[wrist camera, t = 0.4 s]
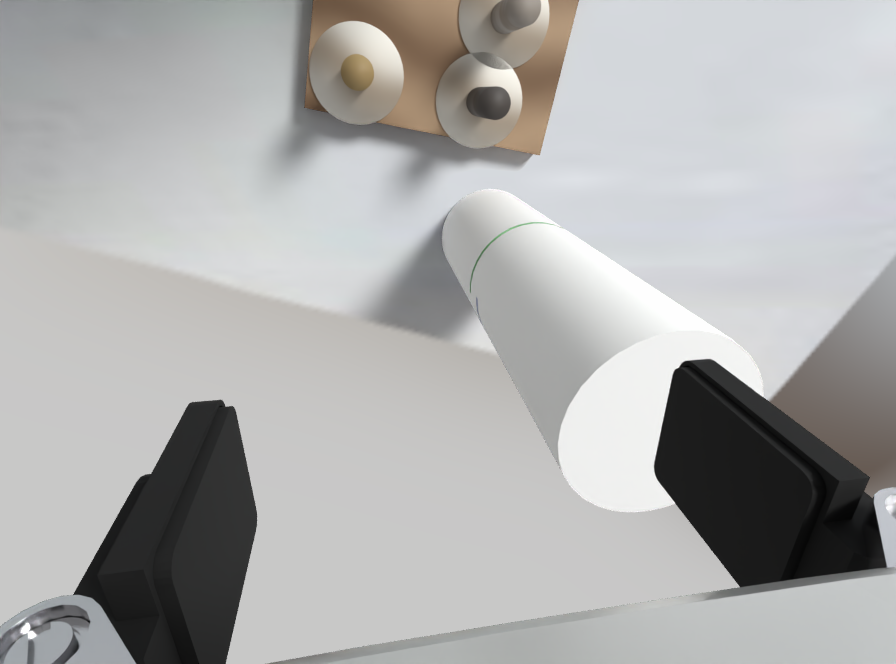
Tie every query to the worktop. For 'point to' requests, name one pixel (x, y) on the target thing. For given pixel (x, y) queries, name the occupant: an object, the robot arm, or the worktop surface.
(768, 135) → the worktop surface
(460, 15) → the pin board
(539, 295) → the cylindrical container
